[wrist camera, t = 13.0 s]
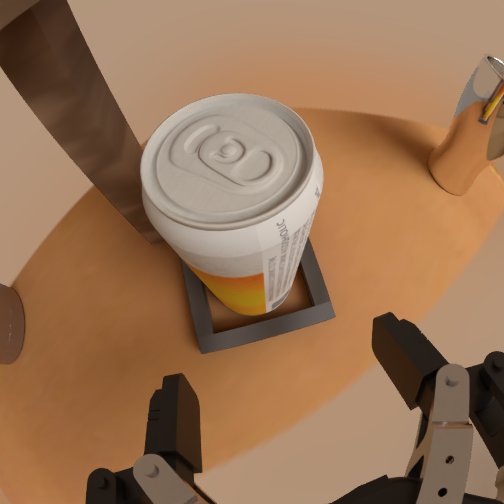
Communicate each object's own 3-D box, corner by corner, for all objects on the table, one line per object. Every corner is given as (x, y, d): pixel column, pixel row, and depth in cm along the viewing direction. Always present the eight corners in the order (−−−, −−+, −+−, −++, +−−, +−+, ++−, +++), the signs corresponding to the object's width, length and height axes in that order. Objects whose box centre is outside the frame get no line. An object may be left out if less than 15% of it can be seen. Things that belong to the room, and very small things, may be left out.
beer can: (245, 228, 23) (216, 71, 9) (307, 269, 22) (362, 133, 8) (199, 285, 22) (96, 175, 8) (260, 332, 20) (242, 291, 6)
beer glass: (433, 139, 26) (484, 46, 12) (476, 176, 24) (539, 94, 10) (415, 170, 25) (479, 60, 11) (463, 211, 23) (546, 122, 9)
